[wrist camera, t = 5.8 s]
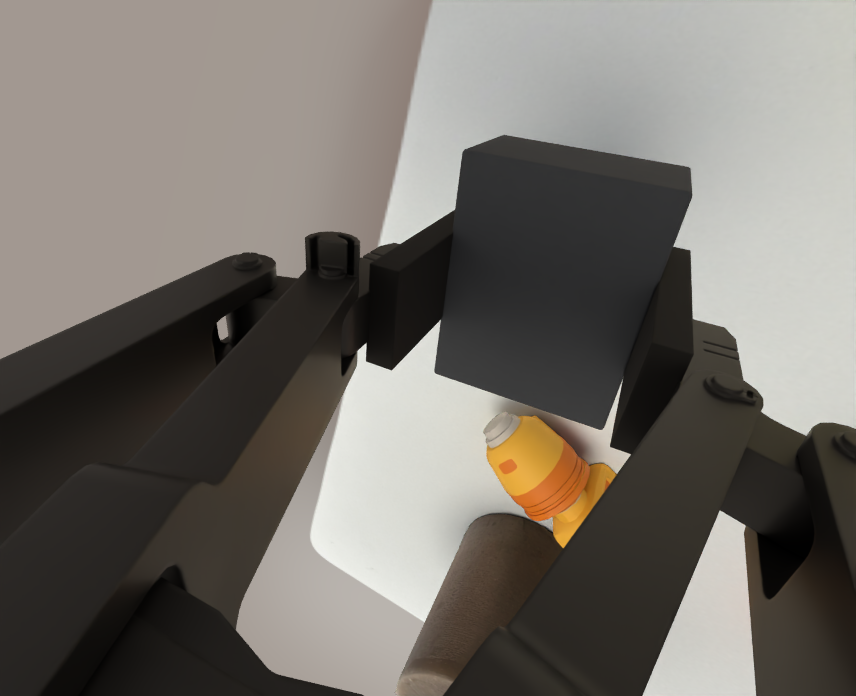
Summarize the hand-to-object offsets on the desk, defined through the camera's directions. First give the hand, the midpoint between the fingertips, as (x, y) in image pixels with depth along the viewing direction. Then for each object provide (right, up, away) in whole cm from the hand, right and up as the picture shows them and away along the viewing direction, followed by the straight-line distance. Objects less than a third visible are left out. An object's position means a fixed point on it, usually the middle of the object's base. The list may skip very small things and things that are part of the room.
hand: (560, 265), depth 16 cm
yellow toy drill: (+5, -11, +20) cm, 23 cm away
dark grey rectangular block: (0, 0, 0) cm, 0 cm away
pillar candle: (+3, -20, +26) cm, 34 cm away
